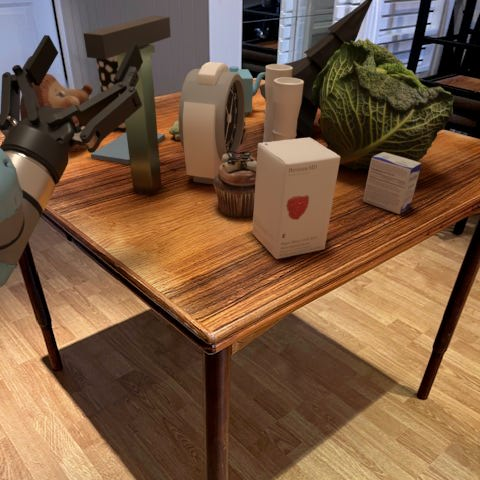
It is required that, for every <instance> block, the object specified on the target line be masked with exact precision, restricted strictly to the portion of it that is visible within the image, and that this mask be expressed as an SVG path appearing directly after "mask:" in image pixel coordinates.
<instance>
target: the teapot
mask: <svg viewBox="0 0 480 480" xmlns="http://www.w3.org/2000/svg"><path fill="white" fill-rule="evenodd" d="M228 68H229V72H237V73H238V74H239V75H240V76H241V78H242V80H243V84H244V90H245V117H246V116H248V115H249V112H250V113H251V112H253V98H254V97H256V95H257V93H258V92H259V90H260V88H259V86H261V83H262V80H263V78H265V73H266V71H264V72H260V73H258V74H257V76H256V79H255V82H254V78H253V76H252V74H251V72H250V70H249V69H248V68H247V69H246V68H245V69H244V68H242V69H240V68H239V66H235V65H231V66H228Z"/></svg>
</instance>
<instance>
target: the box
mask: <svg viewBox="0 0 480 480" xmlns="http://www.w3.org/2000/svg"><path fill="white" fill-rule="evenodd" d="M421 168H422V163H421V162H420V161H417V162H416V161H413V160H410V159H406V158H403V157H399V156H396V155H393V154H389V153H386V152H383V153H380V154H378V155H375V156H373V157H372V158H371V163H370V168H369V169H368V174H367V178H366V183H365V189H364V194H363V198H362V202H364V203H366V204H369V205H371V206H374V207H377V208H380V209H383V210H386V211H388V212H391V213H394V214H397V215H402V214H403V213H405V212H406V211H408V210H409V209H410V208H411V206H412V202H413V198H414V194H415V191H416V187H417V183H418V179H419V175H420V172H421Z"/></svg>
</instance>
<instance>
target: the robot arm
mask: <svg viewBox="0 0 480 480" xmlns="http://www.w3.org/2000/svg"><path fill="white" fill-rule="evenodd" d="M58 55H59V51H58V50H57V47H56V46H55V43H54V41H53V40H52V38H51V36H50V35H49V34H47V35H46V34H44V35H43V37H42V38H41V40H40V42H39V43H38V45H37V47H36V48H35V50H34V51H33V53H32V55H30V56H29V57H28V58H27V60H26V61H25V63H24V64H23V67H22V66H21V65H19V64H15V65H14V66H12V68H11V70H12V73H13V74H11V72H9V71H5V72H4V73H3V74H2V75H1V91H0V94H1V95H0V132H1V134H2V135H3V136H4V139H3V141H2V142H1V144H0V288H1V287H4V286H5V285H6V284H7V283H8V281H9V279H10V277H11V275H12V274H13V272H14V271H15V269H17V268H18V266H19V261H20V259H21V257H22V255H23V253H24V251H25V249H26V247H27V245H28V243H29V240H30V239H31V236H32V235H33V233H34V231H35V229H36V227H37V225H38V223H39V221H40V219H41V217H42V215H43V213H44V211H45V209H46V208H47V206H48V204H49V202H50V200H51V198H52V196H53V194H54V192H55V190H56V185H58V184H59V183H60V181H61V179H62V177H63V175H64V173H65V171H66V169H67V167H68V165H69V159H70V153H71V152H70V150H71V149H72V148H73V147H75V146H76V145H80V146H84V147H85V148H86V150H87V152H88V153H89V154H91V153H93V152H95V151H96V150H98V149H99V148H100V147H99V146H100V145H101V144H102V142H103V140H105V139H106V138H107V137H109V136H110V135H111V134H112V133H113V132H115V131H114V130H115V129H116V128H117V127H118V126H120V125H121V124H122V123H123V122H124V121H125V120H126V119H128V118H129V117H130V116H131V115H132V114H133V113H135V112H136V111H137V110H138V109H139V108H140V107H141V106H142V102H141V99H140V97H139V94H138V92H137V90H136V88H135V86H136V84H137V82H138V80H139V75H138V71H139V69H140V67H141V65H142V63H143V60H142V57H141V55H140V52H139V49H138V46H137V44H133V43H131V45H130V47H129V49H128V51H127V53H126V55H125V57H124V59H123V61H122V63H121V65H120V67H119V69H118V71H117V73H116V75H115V77H114V81H115V85H113V86H112V87H110V88H108V89H106V90H105V91H103V92H101V91H100V92H99V93H97V94H96V95H94V96H93V97H91V98H89V100H87V101H86V102H84V103H82V104H80V105H78V106H76V105H71V106H70V107H68V108H66V109H65V108H52V107H50V106H44V107H43V108H41V107H40V104H39V102H38V99H37V96H36V93H35V90H34V87H33V85H32V82H33V83H34V85H36V86H40V84H41V82H42V81H43V79H44V77H45V75H46V74H48V72H49V70H50V69H51V67H52V65H53V63H54V62H55V60H56V58H57V56H58ZM119 93H120V96H119ZM21 96H23V99H24V102H25V103H24V106H25V109H26V112H27V117H25V118H24V119H22V120H21V115H20V101H21ZM73 116H76V117H77V119H78V121H79V125H77V126H75V122H74V120H73V118H72V117H73Z"/></svg>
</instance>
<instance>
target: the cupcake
mask: <svg viewBox="0 0 480 480" xmlns="http://www.w3.org/2000/svg"><path fill="white" fill-rule="evenodd" d="M226 153H227V154H224V155H223V156H222V162H223V164H221V166H220V167H219V170H218V173H217V174H216V176H215V178H214V185H213V187H214V191H215V193H216V198H217V204H218V205H217V206H218V208H219V210H220V211H221V213H223V214H224V215H226V216H229V217H234V218H238V219H239V218H253V213H254V197H255V182H256V167H257V160H255V158H254V157H253V156H252V155H251V153H252V152H251V151H249V150H244V151H240V152H239V151H238V152H234V151H232V150H230V151H227V152H226ZM235 154H236V155H235ZM237 155H239V156H237Z"/></svg>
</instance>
